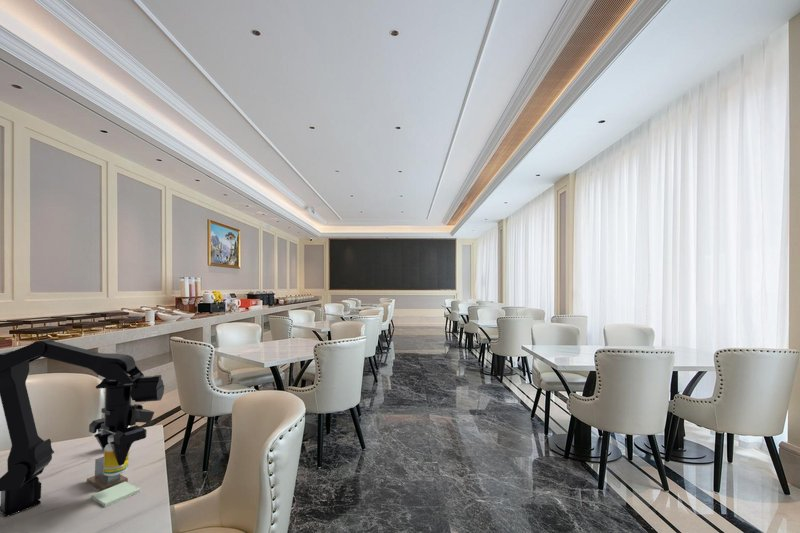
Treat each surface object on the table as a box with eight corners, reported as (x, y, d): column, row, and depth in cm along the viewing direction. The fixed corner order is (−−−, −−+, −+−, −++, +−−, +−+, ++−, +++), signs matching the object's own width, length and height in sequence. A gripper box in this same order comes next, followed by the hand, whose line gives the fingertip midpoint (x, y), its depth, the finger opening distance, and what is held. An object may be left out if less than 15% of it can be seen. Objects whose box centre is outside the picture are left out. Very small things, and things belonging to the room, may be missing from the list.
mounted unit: (102, 491, 103) (103, 469, 104) (86, 482, 108) (87, 460, 109) (127, 481, 108) (128, 460, 109) (111, 473, 114) (111, 452, 114)
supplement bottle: (103, 471, 102) (104, 434, 103) (127, 465, 106) (128, 429, 106) (103, 478, 98) (105, 441, 99) (129, 472, 101) (130, 435, 102)
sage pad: (105, 507, 96) (105, 503, 96) (91, 498, 100) (91, 495, 100) (139, 492, 103) (139, 489, 103) (125, 484, 107) (125, 481, 107)
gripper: (167, 400, 105) (166, 458, 104) (134, 391, 114) (132, 444, 114) (121, 412, 95) (119, 476, 95) (89, 400, 105) (87, 458, 104)
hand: (116, 462), depth 102 cm, fingers closed on supplement bottle, 5 cm apart
